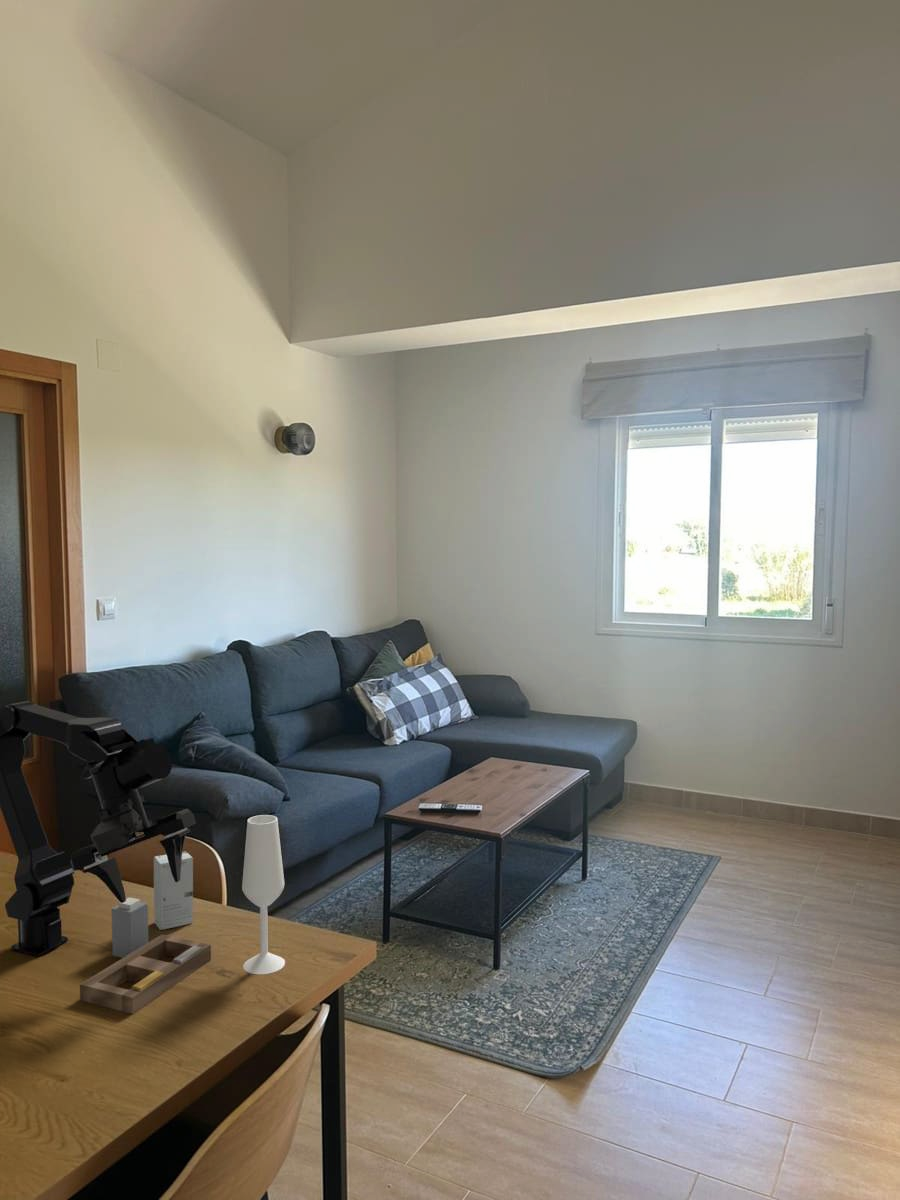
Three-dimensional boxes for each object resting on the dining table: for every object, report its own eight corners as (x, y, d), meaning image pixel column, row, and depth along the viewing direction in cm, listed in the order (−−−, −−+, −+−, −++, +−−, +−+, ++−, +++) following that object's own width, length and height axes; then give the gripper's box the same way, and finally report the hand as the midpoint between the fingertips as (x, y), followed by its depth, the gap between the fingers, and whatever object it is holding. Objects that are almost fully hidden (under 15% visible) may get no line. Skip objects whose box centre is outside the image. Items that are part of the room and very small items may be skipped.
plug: (112, 955, 145) (111, 903, 145) (130, 945, 149) (128, 894, 148) (131, 959, 144) (130, 907, 143) (148, 949, 147) (147, 898, 147)
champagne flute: (293, 963, 143) (292, 818, 141) (260, 978, 138) (258, 829, 136) (267, 950, 147) (265, 810, 145) (234, 965, 142) (232, 820, 140)
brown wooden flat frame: (80, 1000, 131) (79, 981, 131) (162, 948, 148) (161, 932, 147) (132, 1014, 127) (132, 994, 127) (211, 959, 144) (210, 942, 144)
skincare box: (160, 931, 154) (158, 864, 153) (153, 922, 158) (151, 856, 157) (194, 923, 158) (193, 857, 157) (187, 914, 161) (186, 849, 161)
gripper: (37, 826, 131) (70, 927, 129) (153, 781, 130) (187, 882, 129) (74, 814, 142) (104, 907, 140) (181, 773, 141) (212, 866, 140)
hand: (150, 891), depth 137 cm, fingers open, 9 cm apart
